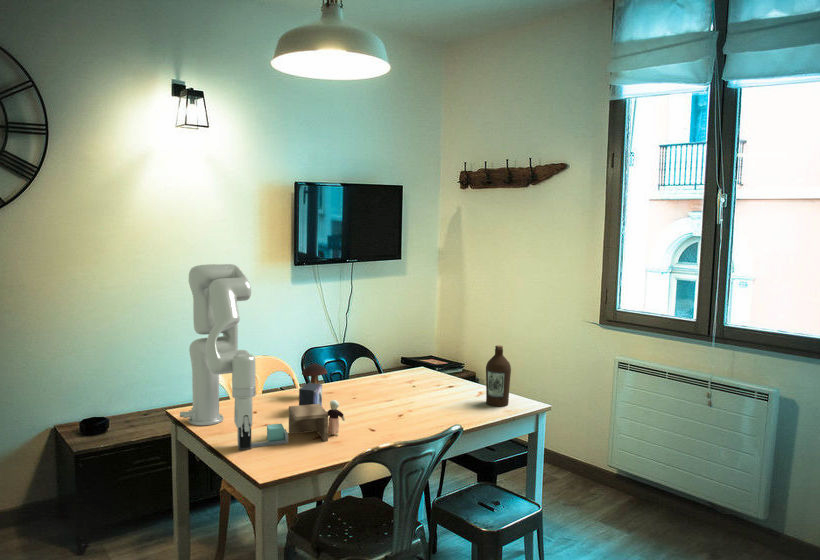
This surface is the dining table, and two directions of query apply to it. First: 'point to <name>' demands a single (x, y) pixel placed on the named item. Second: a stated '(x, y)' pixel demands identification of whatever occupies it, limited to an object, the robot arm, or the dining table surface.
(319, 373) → the decorative mushroom
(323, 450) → the dining table surface
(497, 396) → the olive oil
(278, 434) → the block
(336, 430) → the grandmother figurine
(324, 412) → the cubby
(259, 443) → the grey long piece
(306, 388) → the small box
